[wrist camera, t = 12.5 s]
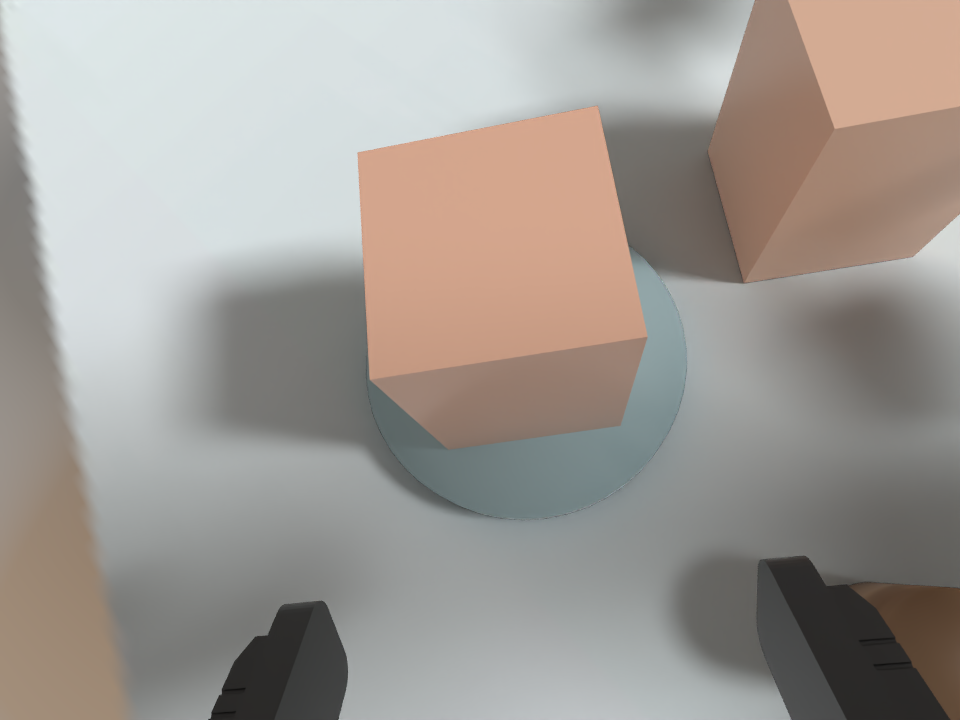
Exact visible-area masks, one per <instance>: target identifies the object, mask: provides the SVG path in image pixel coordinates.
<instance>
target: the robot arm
mask: <svg viewBox="0 0 960 720" xmlns="http://www.w3.org/2000/svg"><path fill="white" fill-rule="evenodd" d="M756 619H757V630H758V635H759V640H760V644H761V647H762V650H763V653H764V656H765V659H766V661H767V663H768V666H769V668H770V670H771V673H772V675H773V677H774V680H775V682H776V684H777V687H778V689H779V691H780V694H781V696H782V698H783V701H784V703H785V706H786V708H787V710H788V713H789V715H790V717H791V720H950V718H949V717H948V715H947V714H946V712H945V711H944V709H943V708H942V706H941V705H940V703H939V702H938V700H937V699H936V697H935V696H934V694H933V693H932V691H931V690H930V688H929V687H928V685H927V684H926V682H925V681H924V679H923V678H922V676H921V675H920V673H919V672H918V670H917V669H916V668H914V667H913V666H912V661H911V660H910V658H909V657H908V655H907V654H906V652H905V651H904V649H903V648H902V646H901V645H900V643H897V642H896V639H895V636H894V634H893V633H892V631H891V630H890V628H889V627H888V625H887V624H886V622H885V621H884V619H883V618H882V616H881V615H880V613H879V612H878V610H877V609H876V608H875V607H874V606H873V605H871V604H870V603H869V602H868V601H867V600H865V599H864V598H863V597H862V596H860V595H859V594H858V593H857V592H855V591H854V590H853V589H852V588H850V587H849V586H848V585H836V586H826V585H825V584H824V582H823V580H822V579H821V577H820V575H819V574H818V572H817V570H816V569H815V567H814V565H813V564H812V562H811V561H810V560H809V558H807V557H806V556H796V557H785V558H775V559H765V560H760V561H759V564H758V584H757V616H756ZM347 679H348V664H347V657H346V653H345V651H344V648H343V645H342V643H341V640H340V638H339V635H338V633H337V630H336V627H335V625H334V622H333V620H332V617H331V615H330V612H329V610H328V607H327V605H326V604H325V602H323V601H314V602H304V603H293V604H284V605H283V606H281V607H280V609H279V610H278V612H277V614H276V617H275V619H274V622H273V624H272V626H271V629H270V631H269V634H268V636H257V637H255V638H254V639H253V640H252V642H251V643H250V644H249V645H248V646H247V647H246V649H245V650H244V651H243V652H242V653H241V655H240V656H239V657H238V658H237V659H236V660H235V662H234V664H233V666H232V668H231V670H230V673H229V675H228V677H227V679H226V681H225V684H224V686H223V688H222V695H219V697H218V699H217V701H216V704H215V706H214V708H213V710H212V712H211V714H212V716H211V719H208V720H338V719H339V715H340V711H341V707H342V703H343V699H344V695H345V691H346V687H347Z"/></svg>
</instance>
